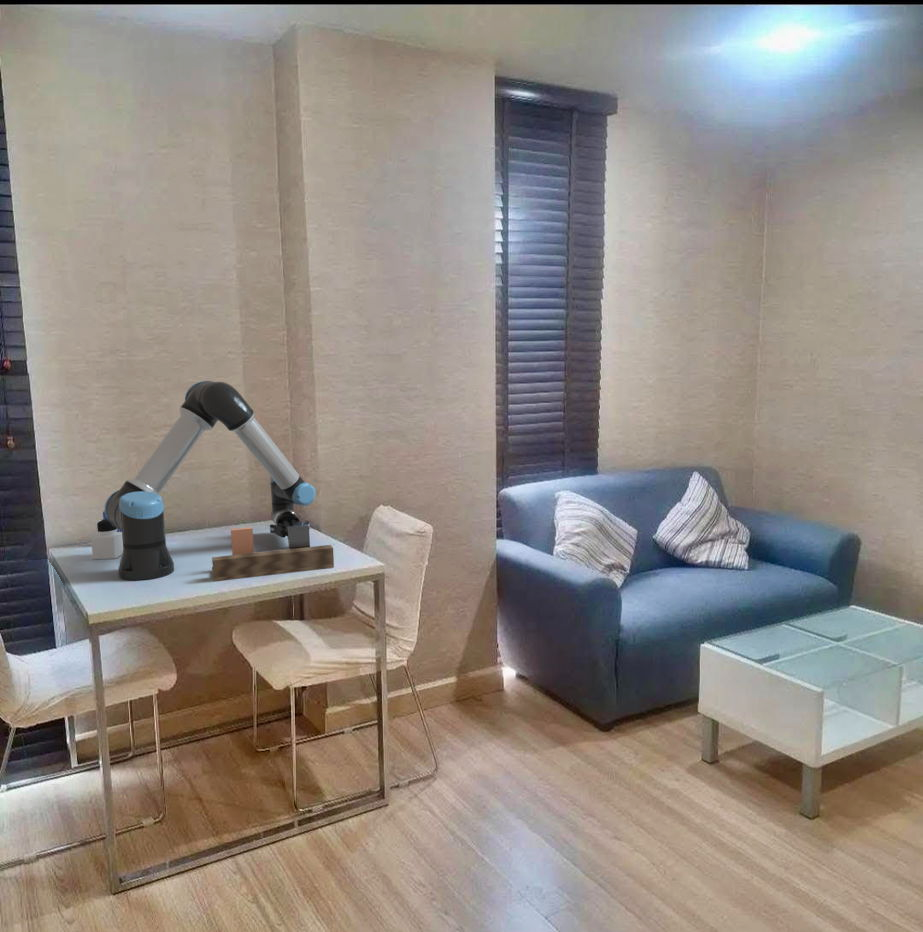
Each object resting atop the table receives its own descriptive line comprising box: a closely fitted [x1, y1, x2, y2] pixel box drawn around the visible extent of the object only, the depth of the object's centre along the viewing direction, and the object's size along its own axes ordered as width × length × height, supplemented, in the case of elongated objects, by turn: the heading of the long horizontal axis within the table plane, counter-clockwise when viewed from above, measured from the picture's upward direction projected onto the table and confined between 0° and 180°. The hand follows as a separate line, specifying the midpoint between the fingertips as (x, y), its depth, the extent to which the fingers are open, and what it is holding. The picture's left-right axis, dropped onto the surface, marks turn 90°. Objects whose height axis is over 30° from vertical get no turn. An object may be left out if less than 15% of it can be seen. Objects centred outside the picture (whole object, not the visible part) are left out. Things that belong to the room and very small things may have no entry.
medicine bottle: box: [90, 518, 123, 560], centre depth 247 cm, size 7×7×12 cm
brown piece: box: [211, 544, 335, 582], centre depth 229 cm, size 34×12×6 cm, turn 111°
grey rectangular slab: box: [287, 524, 311, 549], centre depth 231 cm, size 6×2×11 cm, turn 111°
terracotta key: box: [230, 526, 255, 555], centre depth 229 cm, size 6×2×11 cm, turn 111°
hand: (296, 537), depth 237 cm, fingers closed
